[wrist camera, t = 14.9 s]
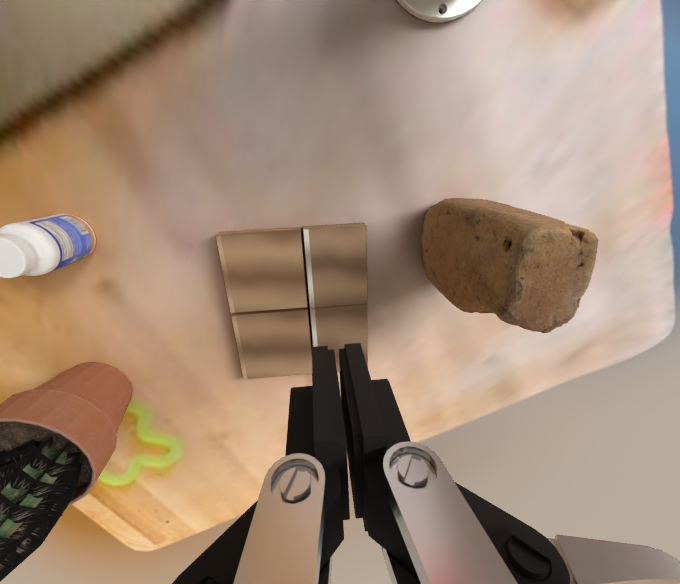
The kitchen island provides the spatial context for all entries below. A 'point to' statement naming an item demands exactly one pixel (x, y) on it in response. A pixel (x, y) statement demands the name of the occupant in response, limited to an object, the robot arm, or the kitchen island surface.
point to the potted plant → (54, 451)
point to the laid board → (337, 285)
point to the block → (507, 261)
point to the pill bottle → (43, 244)
